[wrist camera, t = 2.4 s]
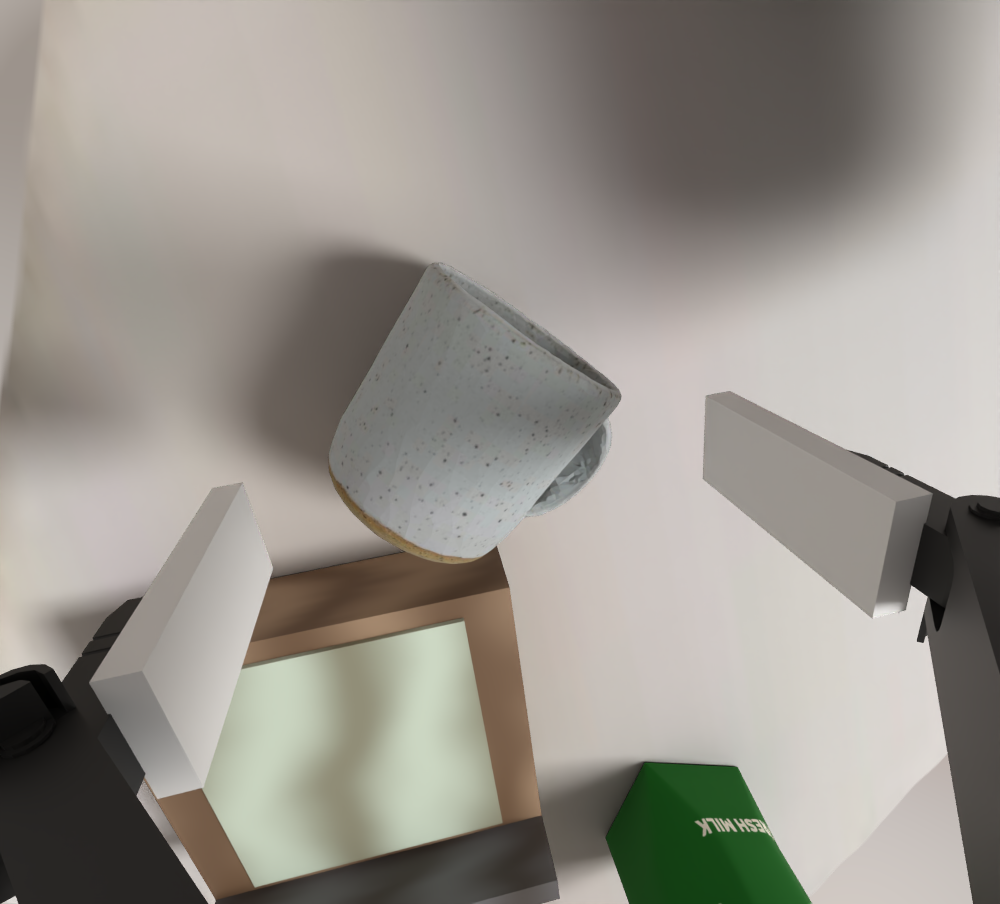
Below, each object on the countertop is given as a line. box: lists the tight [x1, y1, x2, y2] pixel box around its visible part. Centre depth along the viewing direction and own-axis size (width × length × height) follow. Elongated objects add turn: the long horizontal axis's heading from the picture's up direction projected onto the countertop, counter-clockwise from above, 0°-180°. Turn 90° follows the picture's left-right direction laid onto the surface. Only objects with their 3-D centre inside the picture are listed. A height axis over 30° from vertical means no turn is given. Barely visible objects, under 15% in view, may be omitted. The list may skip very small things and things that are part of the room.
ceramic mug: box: [328, 263, 621, 564], centre depth 20 cm, size 11×8×8 cm
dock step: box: [144, 546, 560, 904], centre depth 25 cm, size 16×16×7 cm
